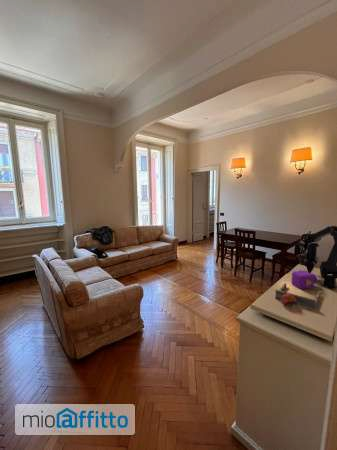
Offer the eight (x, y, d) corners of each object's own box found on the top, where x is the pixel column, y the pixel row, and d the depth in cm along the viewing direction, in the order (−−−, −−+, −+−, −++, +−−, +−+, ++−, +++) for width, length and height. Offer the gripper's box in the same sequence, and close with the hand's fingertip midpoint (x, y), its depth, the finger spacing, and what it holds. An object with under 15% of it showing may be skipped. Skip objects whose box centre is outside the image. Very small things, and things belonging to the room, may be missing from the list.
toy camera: (320, 287, 131) (321, 272, 129) (303, 291, 127) (304, 276, 125) (304, 281, 141) (305, 267, 139) (289, 284, 137) (289, 270, 136)
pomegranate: (298, 312, 110) (292, 294, 116) (300, 306, 105) (294, 288, 111) (283, 312, 112) (278, 294, 118) (284, 306, 107) (279, 288, 113)
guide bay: (284, 286, 134) (284, 279, 133) (320, 295, 121) (320, 287, 120) (275, 298, 120) (275, 290, 119) (314, 310, 107) (315, 301, 106)
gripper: (301, 247, 158) (300, 266, 160) (295, 252, 145) (294, 273, 147) (319, 249, 150) (317, 269, 153) (314, 255, 137) (313, 277, 139)
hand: (310, 272), depth 148 cm, fingers open, 9 cm apart
